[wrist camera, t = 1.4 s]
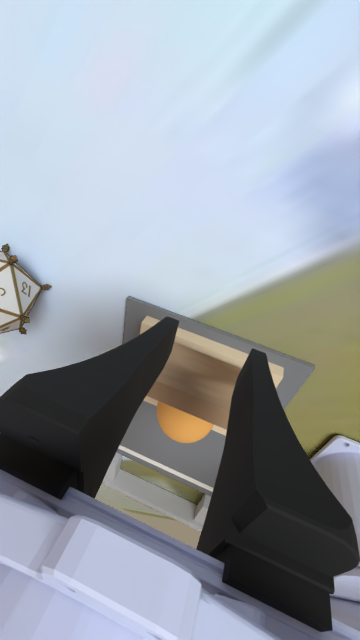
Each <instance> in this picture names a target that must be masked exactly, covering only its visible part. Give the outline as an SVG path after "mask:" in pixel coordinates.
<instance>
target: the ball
mask: <svg viewBox="0 0 360 640" xmlns="http://www.w3.org/2000/svg"><path fill="white" fill-rule="evenodd" d="M157 418H158V422H159V425H160V427H161V429H162V430H163V432H164V433H165V434H166V435H167V436H168V437H170V438H171V439H173V440H175V441H177V442H180V443H193V442H196V441H199V440H201V439H202V438H204V437H205V436H206V435H207V434H208V433H209V432H210V431H211V429H212V427H213V425H214V424H212V423H209V422H207V421H204V420H202V419H200V418H197V417H195V416H193V415H190V414H188V413H186V412H183V411H181V410H179V409H176V408H174V407H172V406H169V405H167V404H165V403H162V402H160V401H158V405H157Z"/></svg>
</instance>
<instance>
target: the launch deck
mask: <svg viewBox="0 0 360 640" xmlns="http://www.w3.org/2000/svg"><path fill="white" fill-rule="evenodd" d="M167 316H168V317H171V318H174V319H176V320H179V325H178V329H177V332H176V336H175V340H174V343H177V344H179V345H182V346H185V347H187V348H190V349H192V350H195V351H197V352H200V353H203V354H205V355H208V356H210V357H213V358H215V359H218V360H220V361H223V362H226V363H228V364H231V365H233V366H236V367H238V368H241V369H242V367H243V365H244V363H245V361H246V359H247V357H248V355H249V353H250V351H251V349H252V348H253V349H256V350H259V351H261V352H264V353H266V355H267V359H268V364H269V368H270V371H271V375H272V378H273V382H274V385H275V388H276V391H277V394H278V397H279V399H280V402H281V404H282V407H283V409H285V407H286V406H287V405H288V403H289V402H290V401H291V399H292V398H293V397H294V396H295V394H296V393H297V392H298V390H299V389H300V388H301V386H302V385H303V384H304V382H305V381H306V380H307V378H308V377H309V376H310V374H311V373H312V372H313V370H314V369H315V366H314V365H313V364H310V363H307V362H305V361H302V360H299V359H296V358H294V357H291V356H288V355H286V354H283V353H280V352H278V351H275V350H272V349H270V348H267V347H264V346H262V345H259V344H256V343H254V342H251V341H248V340H246V339H243V338H240V337H238V336H235V335H232V334H230V333H227V332H224V331H222V330H219V329H216V328H213V327H211V326H208V325H205V324H203V323H200V322H197V321H195V320H192V319H189V318H187V317H184V316H181V315H179V314H176V313H173V312H171V311H168V310H165V309H163V308H160V307H157V306H155V305H152V304H149V303H147V302H144V301H141V300H138V299H136V298H133V297H130V296H129V297H128V298H127V304H126V314H125V324H124V334H123V344H124V343H126V342H128V341H130V340H132V339H133V338H135V337H137V336H138V335H140V334H142V333H143V332H145V331H146V330H148V329H149V328H151V327H152V326H154V325H155V324H157V323H158V322H159V321H161V320H162V319H163V318H165V317H167ZM123 344H122V345H123ZM157 405H158V401H157V400H155V399H153V398H150V397H148V396H146V397H145V398H144V400H143V402H142V403H141V405H140V407H139V408H138V410H137V412H136V414H135V415H134V417H133V419H132V421H131V423H130V425H129V427H128V429H127V431H126V433H125V435H124V437H123V439H122V441H121V443H120V446H119V448H118V450H117V452H116V454H115V456H114V458H113V460H112V462H111V464H110V466H109V468H108V470H107V473H106V475H105V478H104V480H103V485H105V486H107V487H109V488H111V489H114V490H116V491H118V492H120V493H122V494H124V495H126V496H128V497H130V498H132V499H134V500H136V501H138V502H140V503H142V504H144V505H146V506H148V507H150V508H153V509H155V510H157V511H159V512H161V513H163V514H165V515H167V516H169V517H171V518H173V519H175V520H177V521H179V522H181V523H183V524H185V525H187V526H190V527H192V528H194V529H196V530H198V531H201V530H202V528H203V524H204V521H205V518H206V514H207V511H208V507H209V503H210V500H211V496H212V493H213V489H214V485H215V481H216V477H217V474H218V470H219V466H220V462H221V458H222V454H223V450H224V445H225V439H226V432H227V430H226V429H223V428H221V427H219V426H216V425H213V427H212V429H211V431H210V432H209V433H208V434H207V435H206V436H205V437H204V438H202V439H201V440H199V441H196V442H193V443H180V442H177V441H175V440H173V439H171V438H170V437H168V436H167V435H166V434H165V433H164V432H163V430H162V429H161V427H160V425H159V422H158V418H157ZM122 455H123V456H125V457H127V458H130V459H132V460H134V461H136V462H138V463H140V464H142V465H145V466H147V467H149V468H151V469H153V470H155V471H157V472H160V473H162V474H164V475H166V476H168V477H170V478H173V479H175V480H177V481H179V482H181V483H183V484H185V485H188V486H190V487H192V488H194V489H196V490H198V491H201V492H203V493H205V494H204V496H203V497H202V499H201V500H200V502H199V503H198V505H196V504H194V503H192V502H190V501H187V500H185V499H183V498H181V497H179V496H177V495H175V494H173V493H171V492H168V491H166V490H164V489H162V488H160V487H158V486H156V485H154V484H152V483H149V482H147V481H145V480H143V479H141V478H139V477H137V476H135V475H133V474H130V473H128V472H126V471H124V470H122V469H120V467H121V460H122Z"/></svg>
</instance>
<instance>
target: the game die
mask: <svg viewBox="0 0 360 640" xmlns="http://www.w3.org/2000/svg"><path fill="white" fill-rule="evenodd" d="M1 249H2V251H0V334H1V333H5V332H9V331H13V330H17V329H19V332H21V334H26V329H25V328H23V327H22V326H23V324H24V323H29V322H30V321H29V317H27V316H28V315H29V313H30V311H31V309H32V307H33V305H34V303H35V301H36V299H37V297H38V296H39V294H40V292H41V290H42V289H43V290H48V289H49V288H51V287H52V286H49V285H47V284H46V285H45V284H44V285H43V286H41V285H39V284H38V283H37V282H36V281H35V280H34V279H33V278H32V277H31V276H30V275H29V274H28V273H27V272H26V271H25V270H24V269H23V268H22V267H21V266H20V265H19V264H18V263H17V261H18V260H17V257H16V256H11V257H10V256H9V255H8V254H7V253H6V252H8V249H9V247H8V244H6V245H4V246H2V248H1Z"/></svg>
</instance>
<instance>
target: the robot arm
mask: <svg viewBox="0 0 360 640" xmlns="http://www.w3.org/2000/svg"><path fill="white" fill-rule="evenodd" d="M178 325H179V320H176V319H174V318H171V317H168V316H167V317H165V318H163V319H162V320H161V321H159V322H158V323H157V324H155V325H154V326H152V327H151V328H149V329H148V330H146V331H145V332H143V333H142V334H140V335H138V336H137V337H135V338H133V339H132V340H130V341H128V342H126V343H124V344H123V345H121V346H119V347H117V348H115V349H112V350H110V351H108V352H106V353H104V354H101V355H98V356H96V357H93V358H91V359H88V360H85V361H82V362H79V363H76V364H72V365H69V366H65V367H61V368H57V369H53V370H48V371H43V372H38V373H33V374H27V375H26V376H24V377H23V378H22V379H20V380H19V381H18V382H16V383H15V384H14V385H13V386H12V387H11V388H10V389H9V390H7V391H6V392H5V393H4V394H3V395H2V396H1V397H0V432H1V434H0V640H360V443H359V442H356V441H354V440H351V439H349V438H346V437H344V436H341V435H337V436H334V437H333V438H332V439H331V440H330V441H329V442H328V443H327V444H326V445H325V446H324V447H323V448H322V449H320V450H319V451H318V452H317V453H316V454H315V455H314V456H313V457H312V458H311V459H309V458H308V456H307V454H306V453H305V451H304V449H303V448H302V446H301V444H300V443H299V441H298V439H297V437H296V435H295V433H294V431H293V429H292V427H291V425H290V423H289V421H288V419H287V417H286V414H285V412H284V409H283V407H282V404H281V402H280V399H279V397H278V394H277V391H276V388H275V385H274V382H273V378H272V375H271V371H270V368H269V364H268V359H267V355H266V353H264V352H261V351H259V350H256V349H253V348H252V349H251V351H250V353H249V355H248V357H247V359H246V361H245V363H244V365H243V367H242V369H241V371H240V373H239V375H238V377H237V380H236V384H235V387H234V391H233V394H232V399H231V406H230V412H229V419H228V426H227V432H226V439H225V445H224V450H223V454H222V458H221V462H220V466H219V470H218V474H217V477H216V481H215V485H214V489H213V493H212V496H211V500H210V503H209V507H208V511H207V514H206V518H205V521H204V525H203V528H202V532H201V535H200V539H199V542H198V546H197V549H195V548H192V547H190V546H188V545H186V544H184V543H182V542H180V541H178V540H176V539H174V538H172V537H170V536H168V535H166V534H164V533H162V532H160V531H158V530H156V529H154V528H152V527H150V526H148V525H146V524H144V523H142V522H140V521H138V520H136V519H134V518H132V517H130V516H128V515H126V514H124V513H122V512H120V511H118V510H116V509H114V508H112V507H110V506H108V505H106V504H104V503H102V502H100V501H98V500H96V499H94V498H95V496H96V494H97V492H98V490H99V488H100V485H101V483H102V481H103V479H104V477H105V475H106V473H107V470H108V468H109V466H110V464H111V462H112V460H113V458H114V456H115V454H116V452H117V450H118V448H119V446H120V443H121V441H122V439H123V437H124V435H125V433H126V431H127V429H128V427H129V425H130V423H131V421H132V419H133V417H134V415H135V414H136V412H137V410H138V408H139V407H140V405H141V403H142V402H143V400H144V398H145V397H146V395H147V394H148V392H149V391H150V389H151V388H152V386H153V384H154V383H155V381H156V380H157V378H158V377H159V375H160V373H161V372H162V370H163V368H164V366H165V364H166V362H167V360H168V358H169V356H170V354H171V352H172V348H173V344H174V340H175V336H176V332H177V329H178ZM57 514H58V515H57Z"/></svg>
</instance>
